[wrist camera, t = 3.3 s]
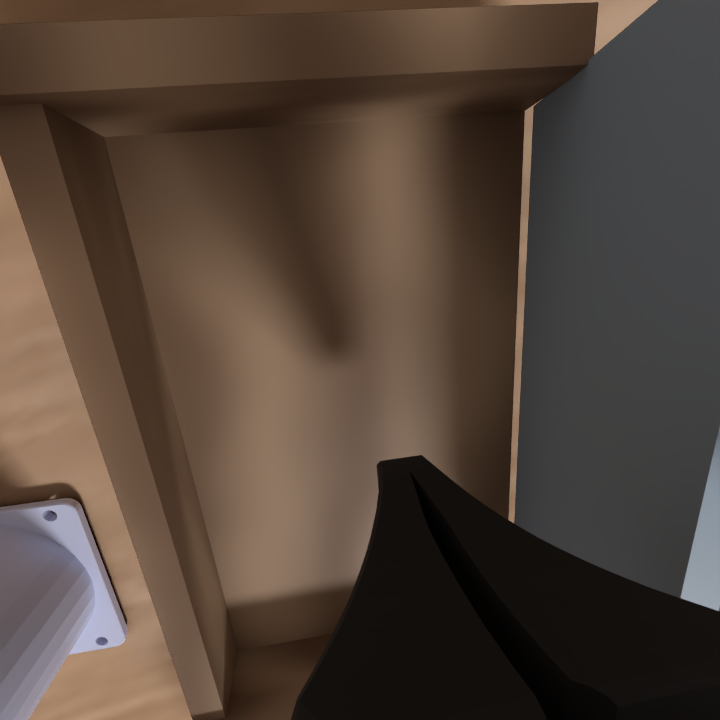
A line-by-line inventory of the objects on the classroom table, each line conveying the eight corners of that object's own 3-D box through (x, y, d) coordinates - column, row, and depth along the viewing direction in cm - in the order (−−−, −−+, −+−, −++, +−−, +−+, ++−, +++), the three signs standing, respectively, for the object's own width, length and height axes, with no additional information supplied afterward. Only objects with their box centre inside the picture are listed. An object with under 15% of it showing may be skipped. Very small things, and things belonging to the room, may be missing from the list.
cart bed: (224, 640, 18) (196, 759, 14) (79, 110, 11) (-63, 26, 7) (490, 593, 19) (539, 689, 15) (502, 87, 13) (598, 2, 8)
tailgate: (510, 602, 18) (617, 871, 10) (533, 106, 12) (855, -169, 4) (527, 601, 18) (647, 871, 10) (559, 103, 12) (934, -180, 4)
